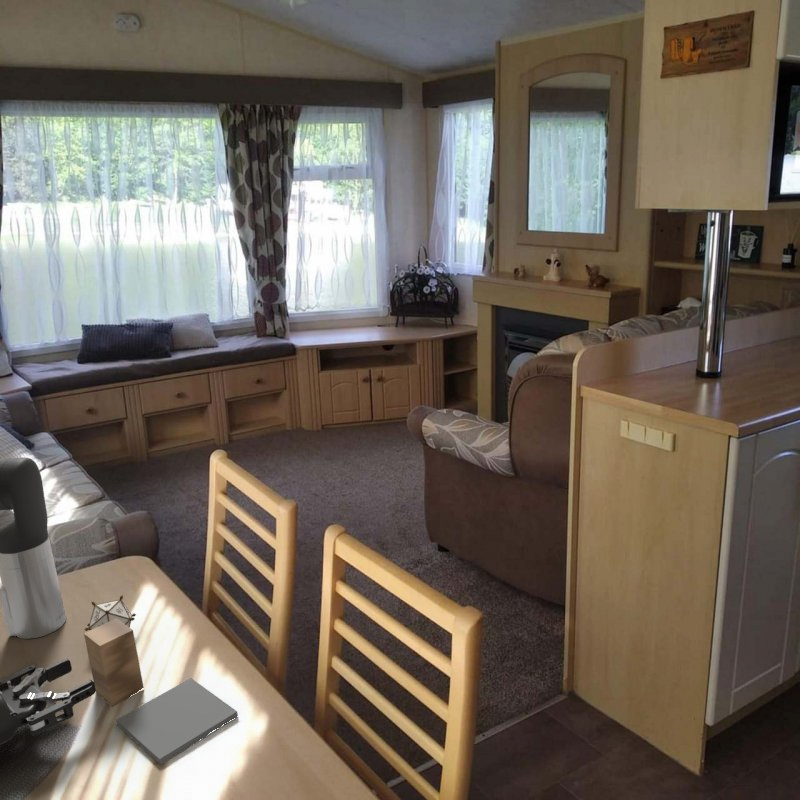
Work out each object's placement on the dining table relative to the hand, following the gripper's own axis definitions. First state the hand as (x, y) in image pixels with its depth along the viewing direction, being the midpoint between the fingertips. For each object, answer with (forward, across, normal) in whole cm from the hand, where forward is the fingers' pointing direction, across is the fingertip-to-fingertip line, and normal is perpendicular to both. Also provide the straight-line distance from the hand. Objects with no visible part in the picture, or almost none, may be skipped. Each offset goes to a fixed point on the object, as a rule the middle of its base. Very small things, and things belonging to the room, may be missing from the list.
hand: (81, 674), depth 124 cm
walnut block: (+5, 0, +6) cm, 8 cm away
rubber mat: (+7, -14, +6) cm, 17 cm away
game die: (+12, +14, +6) cm, 19 cm away
